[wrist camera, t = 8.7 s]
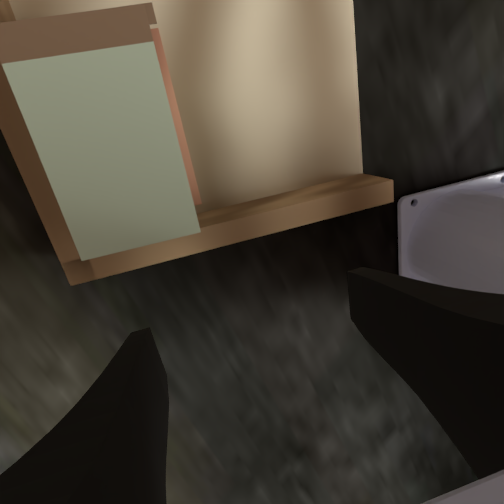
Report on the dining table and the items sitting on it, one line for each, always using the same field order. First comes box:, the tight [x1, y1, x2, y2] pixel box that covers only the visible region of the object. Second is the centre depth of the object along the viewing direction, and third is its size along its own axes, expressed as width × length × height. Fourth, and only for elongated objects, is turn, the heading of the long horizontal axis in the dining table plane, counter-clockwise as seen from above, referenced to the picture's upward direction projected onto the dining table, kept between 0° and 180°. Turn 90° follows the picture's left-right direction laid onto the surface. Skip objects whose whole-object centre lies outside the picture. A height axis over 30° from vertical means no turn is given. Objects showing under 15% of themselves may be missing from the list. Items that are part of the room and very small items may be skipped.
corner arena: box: [0, 0, 394, 286], centre depth 15 cm, size 17×17×4 cm
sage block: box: [0, 4, 201, 261], centre depth 14 cm, size 8×4×6 cm, turn 10°
